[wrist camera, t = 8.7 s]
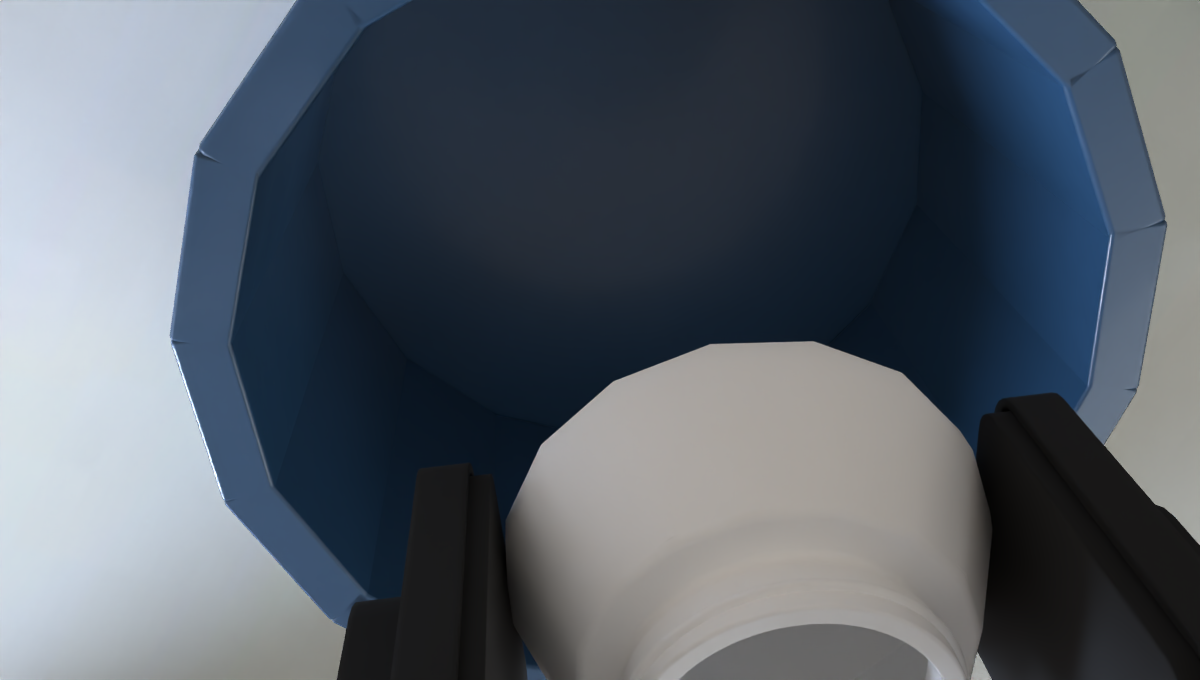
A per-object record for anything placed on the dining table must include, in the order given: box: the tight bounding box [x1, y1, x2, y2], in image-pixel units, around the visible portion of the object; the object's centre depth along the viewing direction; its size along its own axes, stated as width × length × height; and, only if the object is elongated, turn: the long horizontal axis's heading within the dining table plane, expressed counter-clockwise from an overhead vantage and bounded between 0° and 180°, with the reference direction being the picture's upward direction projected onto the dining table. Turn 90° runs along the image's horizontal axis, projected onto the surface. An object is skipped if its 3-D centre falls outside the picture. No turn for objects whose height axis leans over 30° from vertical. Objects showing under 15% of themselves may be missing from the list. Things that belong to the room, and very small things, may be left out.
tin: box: [170, 0, 1167, 680], centre depth 18 cm, size 14×14×8 cm
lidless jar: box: [505, 341, 992, 680], centre depth 10 cm, size 5×3×5 cm
